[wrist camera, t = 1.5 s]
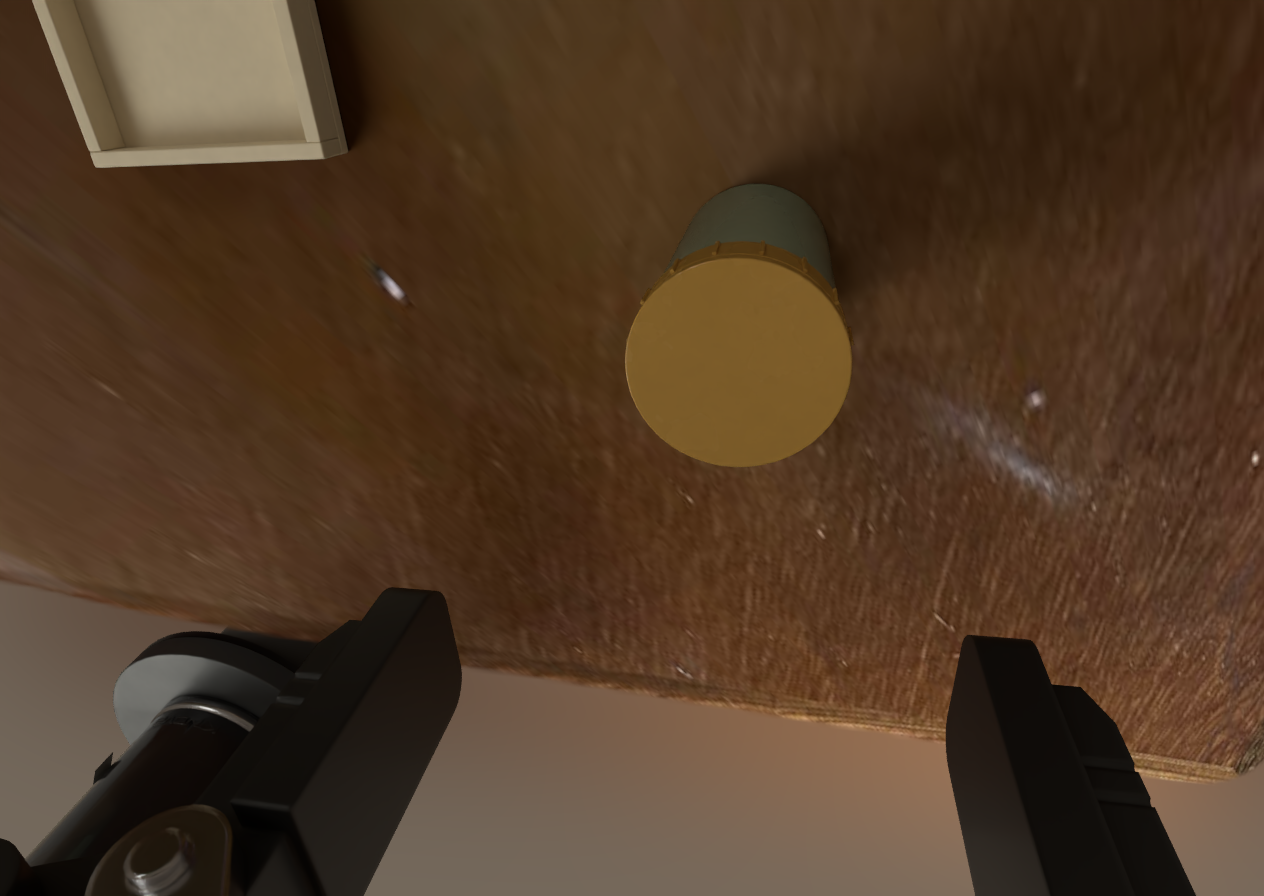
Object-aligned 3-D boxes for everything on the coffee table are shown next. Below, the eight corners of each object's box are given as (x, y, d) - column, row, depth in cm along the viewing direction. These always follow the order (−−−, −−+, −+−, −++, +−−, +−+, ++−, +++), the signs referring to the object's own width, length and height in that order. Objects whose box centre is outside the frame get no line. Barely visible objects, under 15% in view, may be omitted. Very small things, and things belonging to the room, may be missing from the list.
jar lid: (840, 443, 22) (844, 473, 20) (640, 436, 23) (630, 464, 21) (858, 237, 19) (864, 255, 17) (629, 241, 20) (616, 257, 18)
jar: (824, 329, 29) (838, 459, 21) (682, 328, 31) (638, 451, 22) (834, 181, 27) (855, 255, 18) (678, 185, 28) (626, 258, 19)
